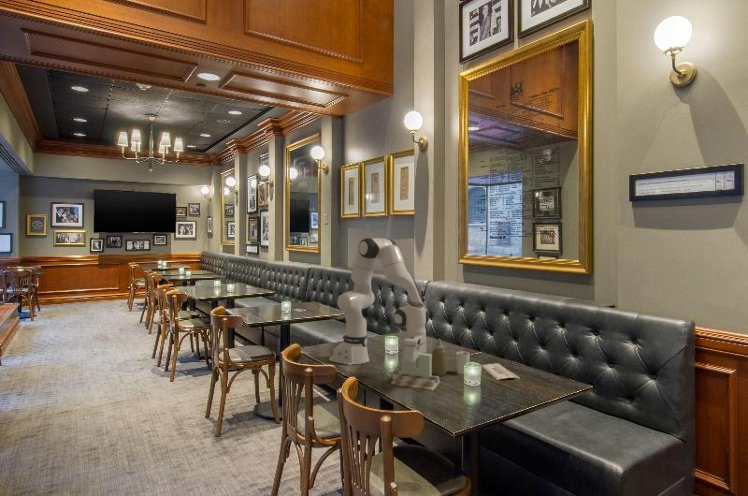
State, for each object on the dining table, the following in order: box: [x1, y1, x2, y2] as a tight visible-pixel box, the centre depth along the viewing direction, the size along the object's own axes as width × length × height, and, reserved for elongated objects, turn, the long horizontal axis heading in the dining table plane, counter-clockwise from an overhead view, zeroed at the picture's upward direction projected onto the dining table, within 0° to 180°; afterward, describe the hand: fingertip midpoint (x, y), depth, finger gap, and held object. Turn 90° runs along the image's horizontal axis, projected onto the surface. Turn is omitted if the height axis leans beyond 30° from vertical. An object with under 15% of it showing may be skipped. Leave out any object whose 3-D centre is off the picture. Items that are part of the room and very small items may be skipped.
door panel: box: [400, 350, 433, 377], centre depth 207 cm, size 14×3×10 cm, turn 65°
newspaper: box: [481, 362, 521, 381], centre depth 223 cm, size 23×12×2 cm, turn 7°
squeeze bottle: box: [431, 338, 448, 377], centre depth 220 cm, size 8×8×18 cm
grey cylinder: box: [455, 351, 471, 376], centre depth 223 cm, size 7×7×10 cm
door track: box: [390, 370, 441, 392], centre depth 207 cm, size 20×12×4 cm, turn 65°
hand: (416, 366), depth 207 cm, fingers closed on door panel, 3 cm apart
